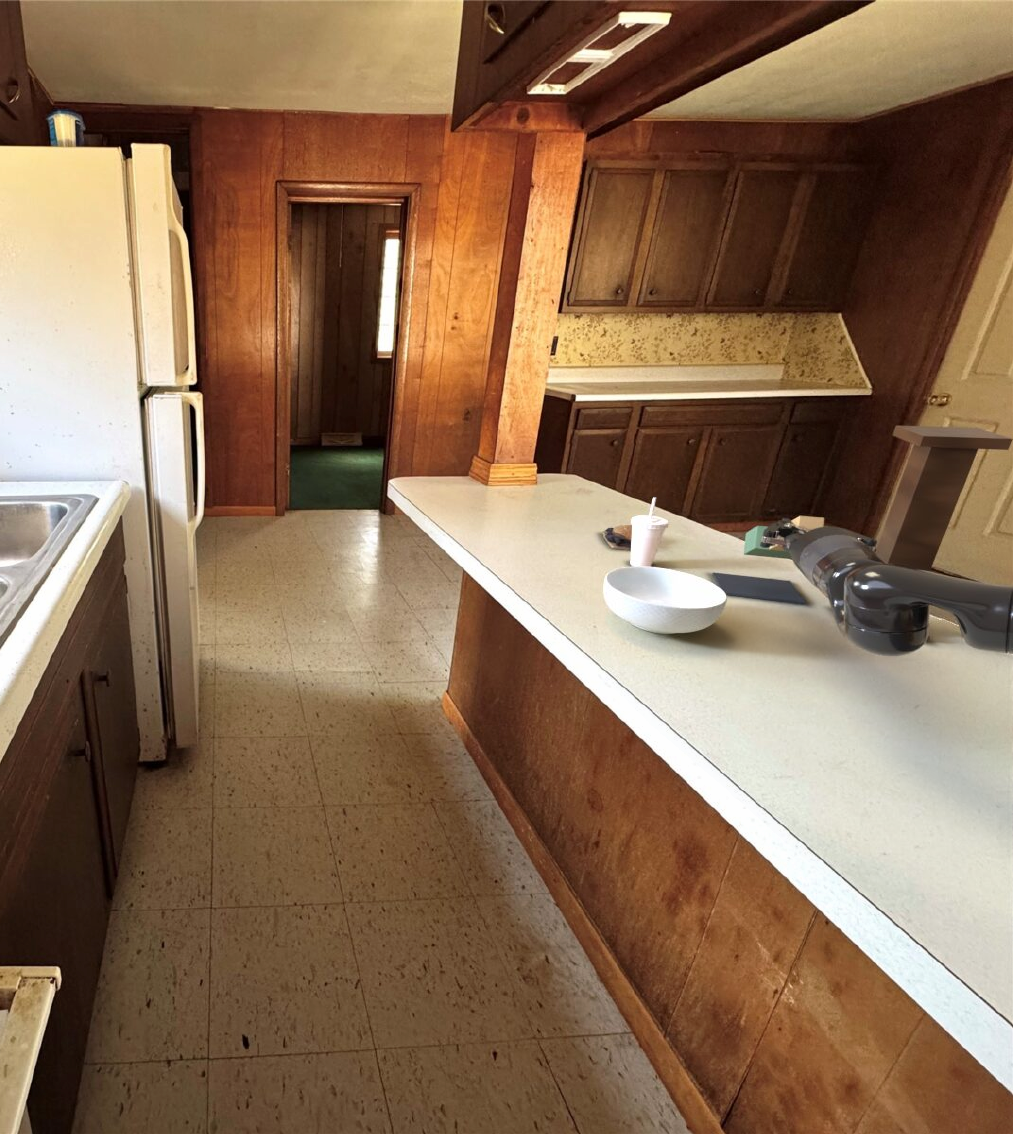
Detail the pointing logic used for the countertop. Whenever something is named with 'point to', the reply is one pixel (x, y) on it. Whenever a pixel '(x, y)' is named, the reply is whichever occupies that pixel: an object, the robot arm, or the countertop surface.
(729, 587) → the slate mat
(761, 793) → the countertop surface
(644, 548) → the smoothie
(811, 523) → the two-tone toy blocks
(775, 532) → the robot arm
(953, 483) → the walnut stand
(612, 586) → the cereal bowl
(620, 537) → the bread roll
